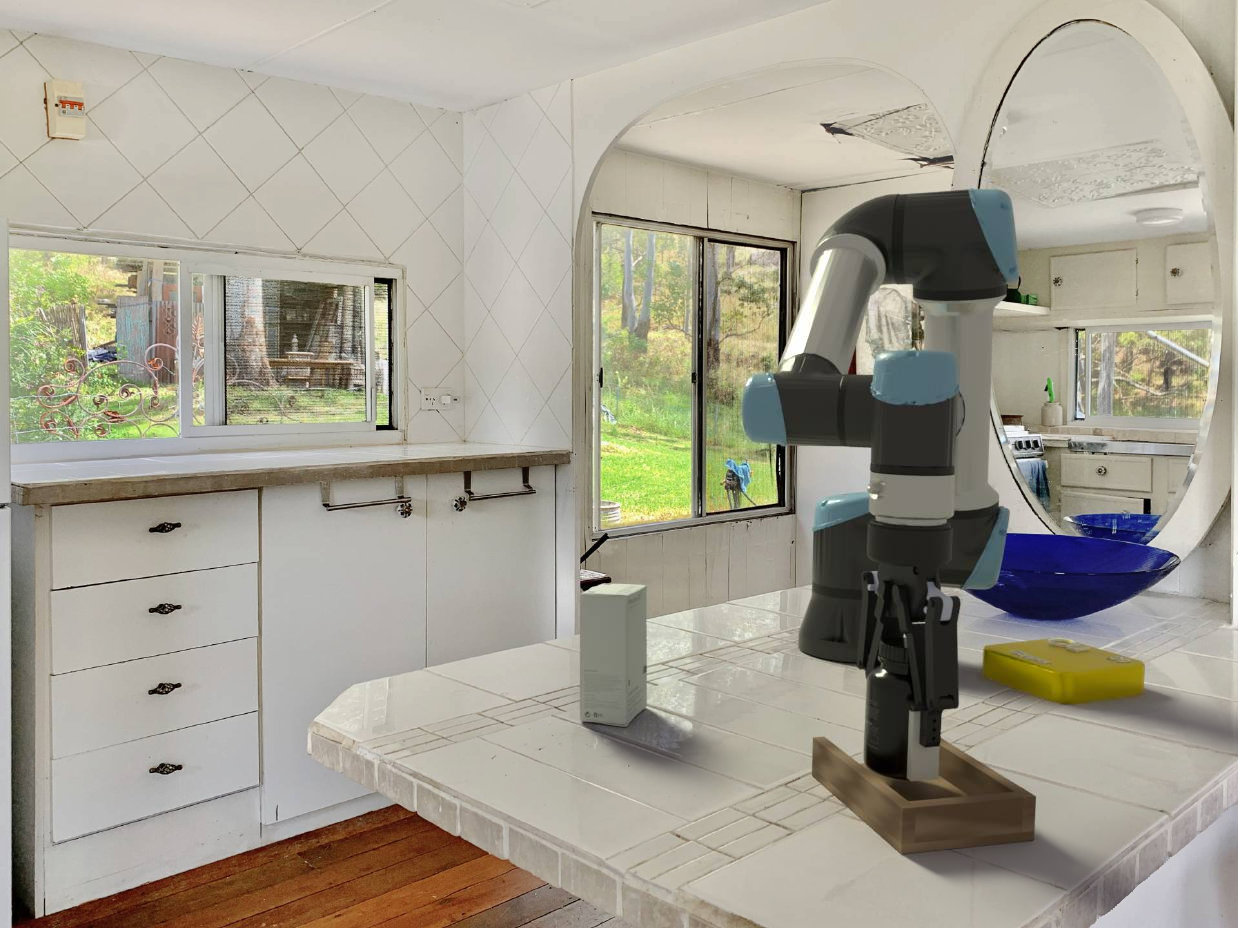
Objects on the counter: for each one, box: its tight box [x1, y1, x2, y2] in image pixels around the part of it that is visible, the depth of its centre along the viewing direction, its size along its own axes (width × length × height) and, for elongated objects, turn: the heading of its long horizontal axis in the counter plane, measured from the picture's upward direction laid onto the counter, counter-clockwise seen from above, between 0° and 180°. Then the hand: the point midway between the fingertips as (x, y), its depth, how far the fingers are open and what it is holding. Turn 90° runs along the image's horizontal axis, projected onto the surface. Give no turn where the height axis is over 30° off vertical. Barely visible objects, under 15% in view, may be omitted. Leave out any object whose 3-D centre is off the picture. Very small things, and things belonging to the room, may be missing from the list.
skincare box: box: [579, 582, 648, 728], centre depth 116 cm, size 8×6×15 cm
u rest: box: [811, 736, 1037, 855], centre depth 91 cm, size 17×12×4 cm
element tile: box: [981, 637, 1146, 706], centre depth 132 cm, size 15×15×5 cm
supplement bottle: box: [863, 636, 940, 781], centre depth 93 cm, size 7×7×12 cm
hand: (901, 762), depth 94 cm, fingers closed on supplement bottle, 7 cm apart
